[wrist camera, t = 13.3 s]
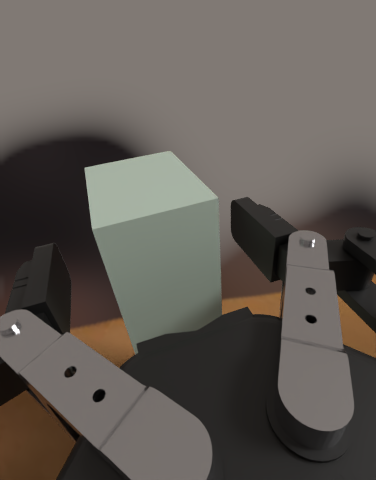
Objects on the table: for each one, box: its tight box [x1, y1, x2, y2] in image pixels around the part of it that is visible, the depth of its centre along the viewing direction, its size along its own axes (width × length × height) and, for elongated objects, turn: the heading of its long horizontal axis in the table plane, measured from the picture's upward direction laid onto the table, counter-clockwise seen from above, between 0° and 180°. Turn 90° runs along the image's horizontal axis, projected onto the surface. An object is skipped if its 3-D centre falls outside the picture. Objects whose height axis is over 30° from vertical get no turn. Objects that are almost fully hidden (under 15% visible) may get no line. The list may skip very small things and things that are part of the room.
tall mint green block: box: [85, 151, 222, 354], centre depth 14 cm, size 4×5×16 cm
